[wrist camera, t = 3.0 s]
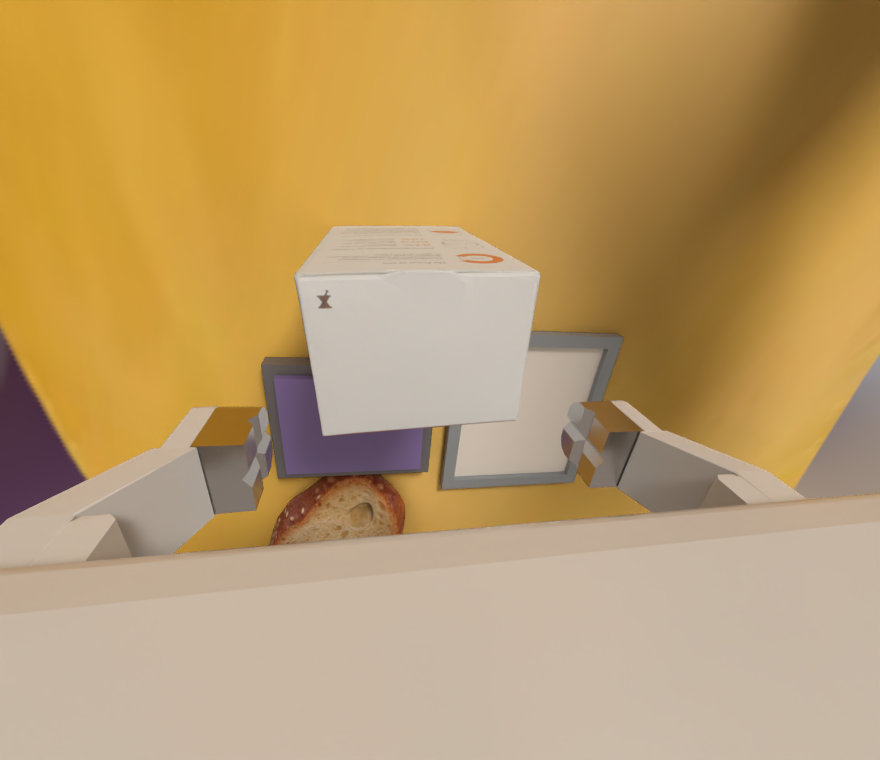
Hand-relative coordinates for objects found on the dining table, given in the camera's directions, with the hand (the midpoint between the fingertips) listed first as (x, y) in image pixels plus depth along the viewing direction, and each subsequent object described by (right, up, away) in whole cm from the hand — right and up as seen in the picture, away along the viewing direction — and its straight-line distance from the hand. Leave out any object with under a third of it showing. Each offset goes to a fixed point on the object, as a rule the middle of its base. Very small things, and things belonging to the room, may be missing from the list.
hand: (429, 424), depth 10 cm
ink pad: (-6, -2, +19) cm, 20 cm away
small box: (-2, +8, +15) cm, 17 cm away
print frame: (+7, -2, +22) cm, 23 cm away
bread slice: (-9, -16, +27) cm, 32 cm away
